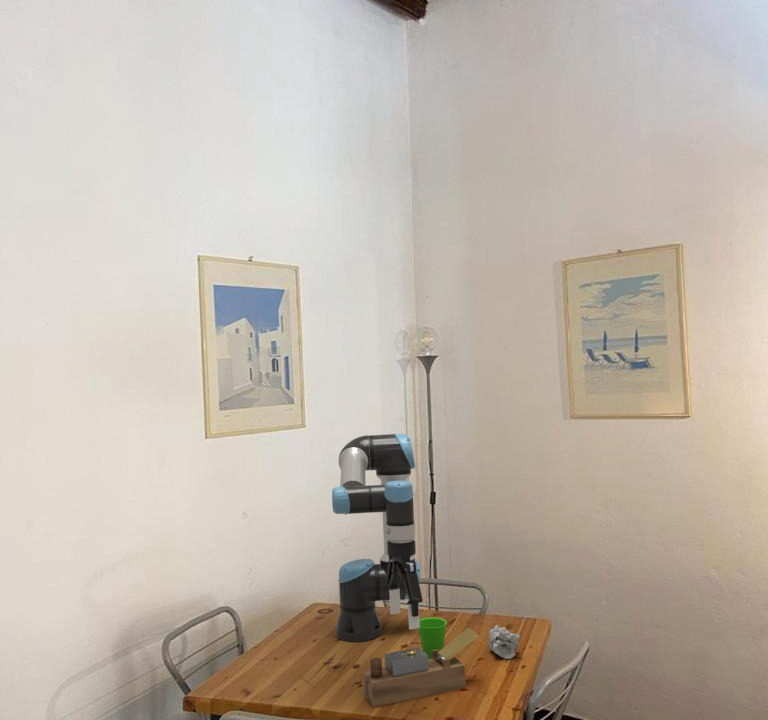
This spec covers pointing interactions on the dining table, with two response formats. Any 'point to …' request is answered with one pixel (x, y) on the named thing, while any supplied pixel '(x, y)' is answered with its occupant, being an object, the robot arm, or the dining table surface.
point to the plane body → (412, 681)
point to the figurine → (503, 642)
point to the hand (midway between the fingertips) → (404, 620)
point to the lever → (456, 645)
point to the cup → (432, 634)
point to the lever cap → (406, 662)
